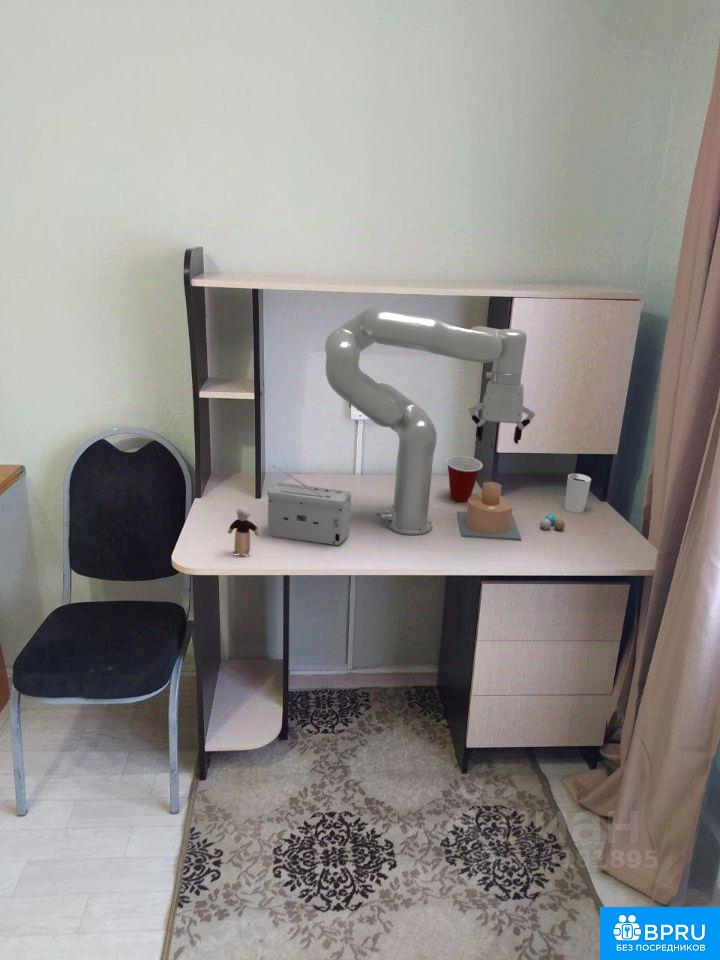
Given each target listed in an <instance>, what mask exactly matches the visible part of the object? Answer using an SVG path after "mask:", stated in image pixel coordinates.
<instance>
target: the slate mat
mask: <svg viewBox="0 0 720 960" xmlns="http://www.w3.org/2000/svg"><path fill="white" fill-rule="evenodd" d="M456 515H457V520H458V521H457V522H458V525H459V532H460V535H461V537H462V538H472V537H473V538H476V539H489V540H490V539H492V540H505V541H508V540H509V541H522V537H521V534H520V531H519V528H518V526H517V523H516V520H515V517H514V515H513V514H512V516H511V523H510V528H509V529H508V530H507V531H506V532H503V533H498V534H489V533H482V532H478V531H475V530H473V529H471V528H470V527H468V526H467V525H466V521H465V519H466V511H463V510H456Z"/></svg>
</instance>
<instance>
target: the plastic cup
mask: <svg viewBox="0 0 720 960" xmlns="http://www.w3.org/2000/svg"><path fill="white" fill-rule="evenodd" d="M446 464H447V469H448V480H449V482H448V483H449V490H450V491H449V492H450V499H451V500H452V501H454V502H458V503H467V502H468V499H469V497H470V496H472V495H473V491H474V487H475V485H476V481H477V477H478V475H479V473H480V470H482V468H483V463H482V461H480V460H478V458H474V457H472V456H465V455H452V456H450V457H447V459H446Z"/></svg>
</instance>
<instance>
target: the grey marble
mask: <svg viewBox="0 0 720 960" xmlns="http://www.w3.org/2000/svg"><path fill="white" fill-rule="evenodd" d="M539 525H540V527H541V528H542V529H543V530H549V529H550V528H551V526H552V525H551V521H550V520H549V519H546V518H545V517H544V518H543V519H541V520H540V523H539Z"/></svg>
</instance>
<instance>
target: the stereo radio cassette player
mask: <svg viewBox="0 0 720 960" xmlns="http://www.w3.org/2000/svg"><path fill="white" fill-rule="evenodd" d="M272 467H273V468H276V469H278V470H279V471H280V472H282V474H283V473H284V474H285V475H286V476H288V477H290V478H291V479H293V480H294V481H295V482H297V483H299V484H294V483H287V482H281V481H280V482H279V481H278V482H277V481H275V482H273V484H272V485H271V486H270V487H269V489H268V490H267V532H268V533H269V535H270V536H271V537H273V536H274V537H278V538H284V539H290V540H291V539H292V540H299V541H305V542H313V543H319V544H320V543H321V544H325V545H333V546H334V545H335V546H336V545H338V546H339V545H341V544H342V543H343V542H344V541H345V540H346V538H348V537H347V536H348V535H349V533H350V525H351V524H350V523H351V507H352V506H351V505H352V501H351V500H352V494H351V491H349V490H342V489H334V488H333V489H332V488H327V487H325V488H324V487H317V486H311V485H310V486H309V485H307V484H306V483H304V482H302V481H301V480H299V479H297V478H295V477H294V476H292V475H291V474H289V473H287V472H286V471H284V470H282V469H280V468H279V467H277V466H276V465H275V464H273V466H272Z"/></svg>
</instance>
